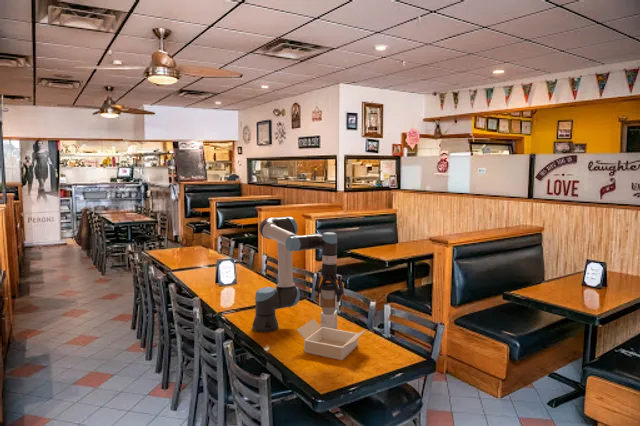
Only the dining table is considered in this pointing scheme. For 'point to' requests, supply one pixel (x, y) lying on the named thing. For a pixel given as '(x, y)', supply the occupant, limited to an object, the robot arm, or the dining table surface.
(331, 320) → the tissue box
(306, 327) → the flap
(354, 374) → the dining table surface
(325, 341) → the carton
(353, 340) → the flap
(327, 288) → the coffee cup
